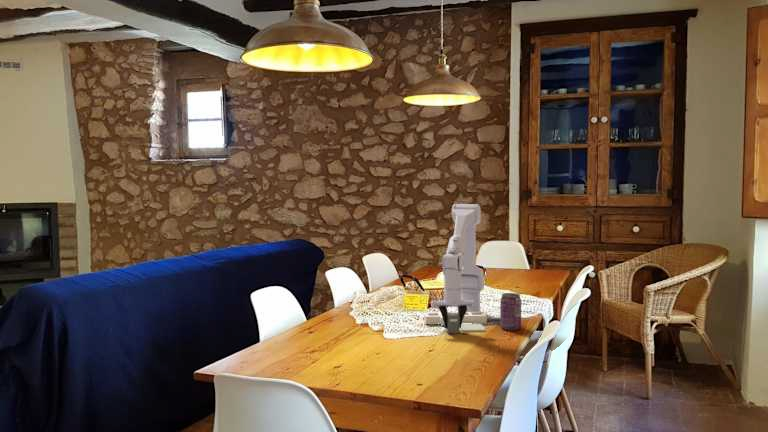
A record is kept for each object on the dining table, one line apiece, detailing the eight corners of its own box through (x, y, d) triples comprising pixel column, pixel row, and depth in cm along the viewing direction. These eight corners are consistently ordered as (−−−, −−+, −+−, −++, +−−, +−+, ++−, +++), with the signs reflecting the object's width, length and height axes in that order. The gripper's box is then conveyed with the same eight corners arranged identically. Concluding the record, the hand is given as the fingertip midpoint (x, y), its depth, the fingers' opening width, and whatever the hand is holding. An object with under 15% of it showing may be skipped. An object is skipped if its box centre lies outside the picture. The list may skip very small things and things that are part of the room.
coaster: (458, 325, 216) (458, 324, 216) (480, 325, 217) (480, 323, 217) (462, 331, 208) (462, 330, 208) (485, 331, 209) (485, 329, 209)
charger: (444, 327, 213) (444, 310, 212) (455, 327, 213) (455, 310, 213) (447, 333, 205) (447, 316, 205) (459, 333, 206) (459, 315, 205)
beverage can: (519, 326, 215) (519, 292, 214) (522, 331, 208) (522, 297, 207) (499, 325, 216) (499, 292, 215) (501, 331, 209) (501, 296, 208)
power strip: (424, 320, 224) (424, 311, 224) (499, 319, 225) (499, 309, 225) (426, 326, 215) (426, 316, 215) (504, 325, 217) (504, 315, 216)
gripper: (433, 291, 202) (433, 331, 203) (476, 290, 203) (475, 330, 204) (430, 286, 209) (430, 325, 210) (472, 286, 210) (471, 324, 211)
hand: (452, 327), depth 208 cm, fingers closed on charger, 4 cm apart
